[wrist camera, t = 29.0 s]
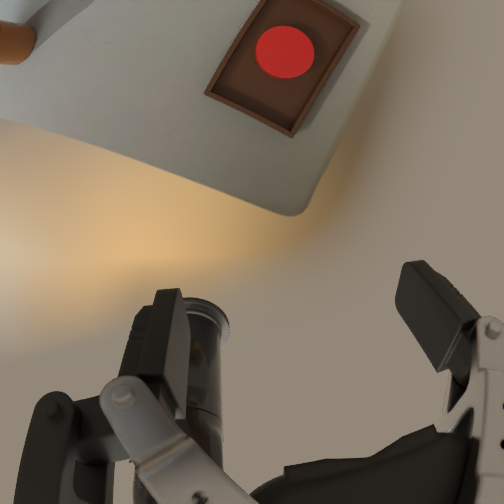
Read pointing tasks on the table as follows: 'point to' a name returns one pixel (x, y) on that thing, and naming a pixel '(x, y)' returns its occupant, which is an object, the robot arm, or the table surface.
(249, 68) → the tray
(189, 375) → the robot arm
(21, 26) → the jar
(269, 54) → the lid
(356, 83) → the table surface
